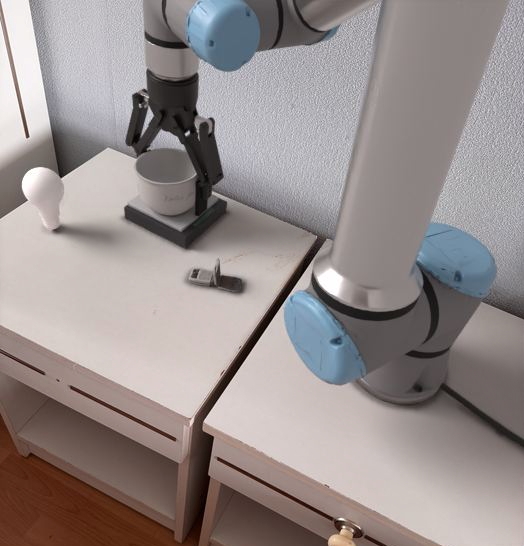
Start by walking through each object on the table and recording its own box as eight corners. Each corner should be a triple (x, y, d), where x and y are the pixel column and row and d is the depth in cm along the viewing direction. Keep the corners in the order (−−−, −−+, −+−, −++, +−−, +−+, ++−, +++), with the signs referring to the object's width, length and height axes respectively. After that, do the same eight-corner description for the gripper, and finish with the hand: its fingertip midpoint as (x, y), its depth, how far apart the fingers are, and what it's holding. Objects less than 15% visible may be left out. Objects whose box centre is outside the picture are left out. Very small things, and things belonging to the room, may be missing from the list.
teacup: (170, 232, 85) (169, 191, 79) (123, 203, 89) (119, 161, 82) (223, 197, 93) (226, 157, 87) (179, 172, 96) (179, 131, 90)
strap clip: (187, 283, 83) (187, 263, 80) (192, 270, 85) (192, 251, 82) (239, 293, 83) (241, 274, 80) (242, 280, 85) (245, 261, 82)
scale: (226, 212, 96) (227, 198, 93) (185, 249, 88) (185, 235, 86) (169, 185, 98) (169, 171, 96) (125, 218, 91) (123, 204, 89)
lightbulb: (54, 211, 90) (41, 154, 81) (79, 227, 88) (68, 171, 79) (25, 228, 86) (8, 170, 78) (51, 245, 84) (36, 187, 76)
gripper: (255, 88, 73) (240, 215, 90) (125, 36, 78) (135, 165, 96) (226, 107, 69) (217, 236, 86) (91, 50, 74) (108, 183, 91)
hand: (174, 199), depth 91 cm, fingers closed on teacup, 11 cm apart
